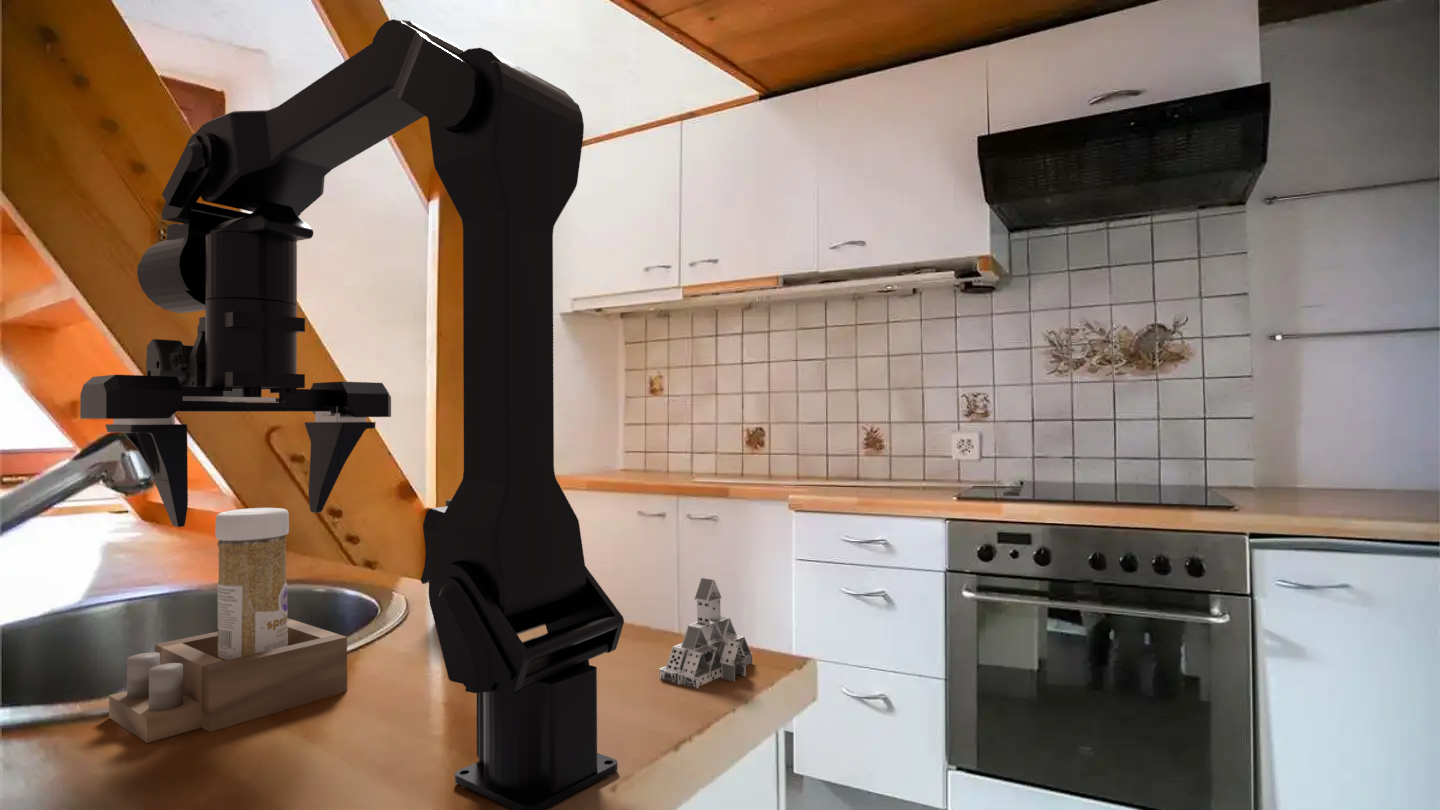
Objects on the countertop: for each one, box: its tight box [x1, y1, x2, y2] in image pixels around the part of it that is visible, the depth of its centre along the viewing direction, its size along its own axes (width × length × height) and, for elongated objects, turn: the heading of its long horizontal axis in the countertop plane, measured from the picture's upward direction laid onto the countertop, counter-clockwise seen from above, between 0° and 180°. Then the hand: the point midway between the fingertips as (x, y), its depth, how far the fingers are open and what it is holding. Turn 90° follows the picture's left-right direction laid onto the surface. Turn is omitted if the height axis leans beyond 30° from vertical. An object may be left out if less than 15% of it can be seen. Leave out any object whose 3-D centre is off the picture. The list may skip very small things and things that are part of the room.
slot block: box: [108, 617, 348, 744], centre depth 56 cm, size 10×12×4 cm
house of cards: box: [658, 577, 753, 689], centre depth 59 cm, size 9×9×8 cm
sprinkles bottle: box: [214, 507, 290, 661], centre depth 57 cm, size 5×5×14 cm
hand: (251, 519), depth 57 cm, fingers open, 9 cm apart
